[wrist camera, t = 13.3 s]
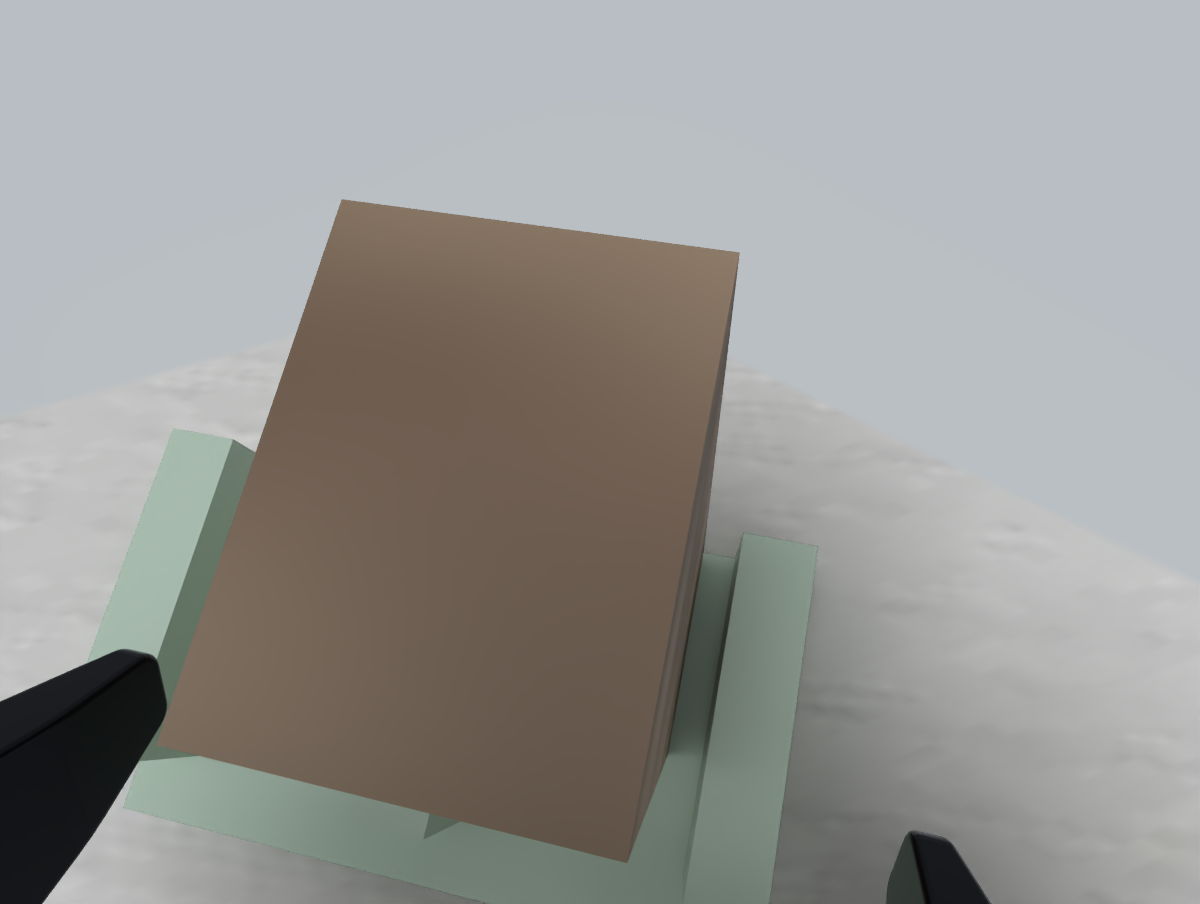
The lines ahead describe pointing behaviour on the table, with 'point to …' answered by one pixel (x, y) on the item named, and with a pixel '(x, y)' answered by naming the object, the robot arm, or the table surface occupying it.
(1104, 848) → the table surface
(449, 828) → the slotted rack
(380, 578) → the walnut block
